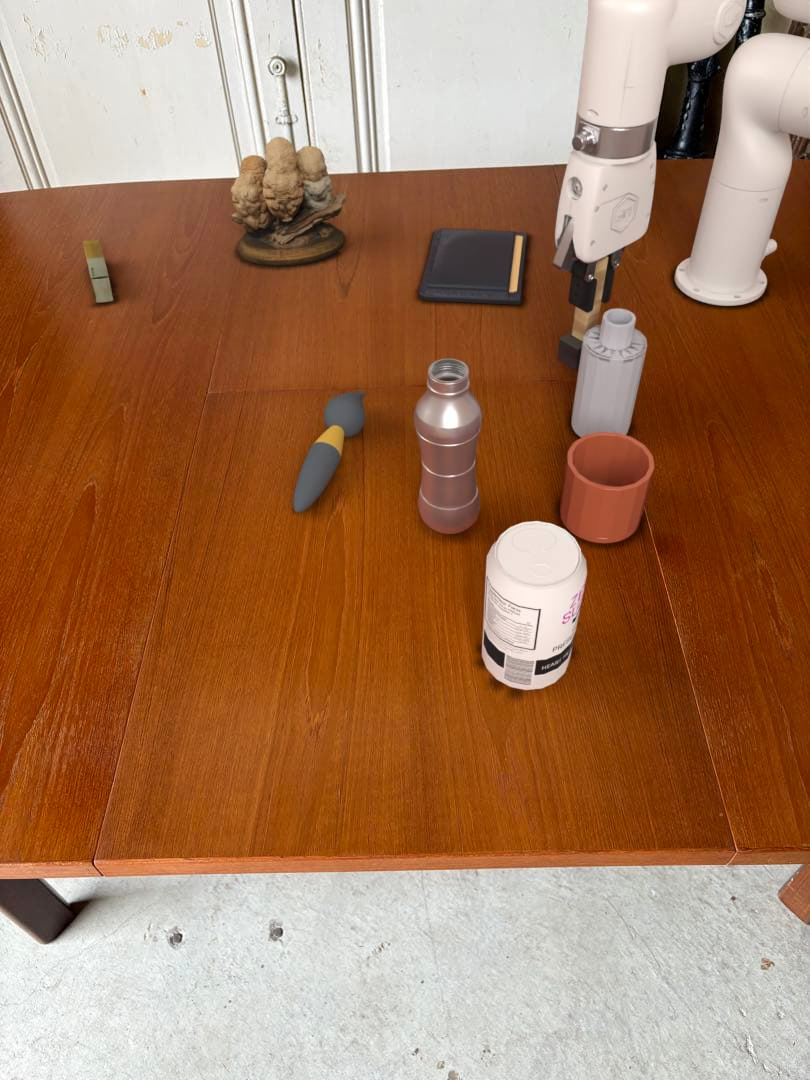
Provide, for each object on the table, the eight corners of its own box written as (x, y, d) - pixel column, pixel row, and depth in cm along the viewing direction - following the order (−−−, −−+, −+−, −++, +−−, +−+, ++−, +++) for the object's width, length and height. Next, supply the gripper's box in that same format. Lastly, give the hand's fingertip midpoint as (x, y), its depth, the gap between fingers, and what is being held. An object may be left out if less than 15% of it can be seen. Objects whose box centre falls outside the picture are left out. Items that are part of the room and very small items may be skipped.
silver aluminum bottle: (475, 545, 86) (480, 395, 71) (412, 537, 87) (405, 388, 72) (483, 502, 90) (490, 352, 75) (423, 495, 91) (418, 346, 76)
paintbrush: (330, 524, 89) (325, 491, 85) (287, 518, 90) (280, 485, 86) (375, 410, 102) (372, 377, 98) (337, 405, 103) (333, 373, 99)
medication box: (115, 301, 121) (109, 277, 118) (96, 304, 120) (90, 279, 117) (104, 261, 128) (99, 237, 125) (86, 263, 127) (80, 239, 124)
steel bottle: (598, 399, 101) (616, 292, 90) (640, 426, 98) (665, 318, 86) (559, 423, 99) (573, 315, 87) (601, 451, 95) (622, 343, 84)
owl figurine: (348, 223, 134) (337, 114, 121) (353, 260, 126) (342, 147, 113) (238, 233, 133) (216, 124, 120) (236, 271, 125) (212, 159, 112)
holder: (597, 475, 92) (607, 420, 86) (656, 516, 88) (672, 462, 82) (543, 510, 89) (549, 457, 83) (602, 556, 84) (613, 502, 78)
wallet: (435, 220, 129) (532, 225, 127) (435, 231, 131) (531, 237, 128) (413, 288, 116) (520, 295, 114) (414, 300, 118) (519, 307, 115)
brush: (585, 343, 99) (600, 243, 89) (604, 354, 97) (621, 253, 88) (556, 359, 97) (568, 259, 87) (575, 371, 95) (589, 270, 86)
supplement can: (475, 625, 79) (479, 520, 68) (559, 617, 80) (577, 512, 68) (488, 697, 74) (494, 597, 63) (577, 689, 74) (600, 587, 63)
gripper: (585, 171, 73) (563, 344, 86) (699, 120, 79) (661, 290, 93) (526, 145, 77) (514, 315, 90) (638, 99, 83) (611, 264, 97)
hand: (588, 301), depth 91 cm, fingers closed on brush, 2 cm apart
